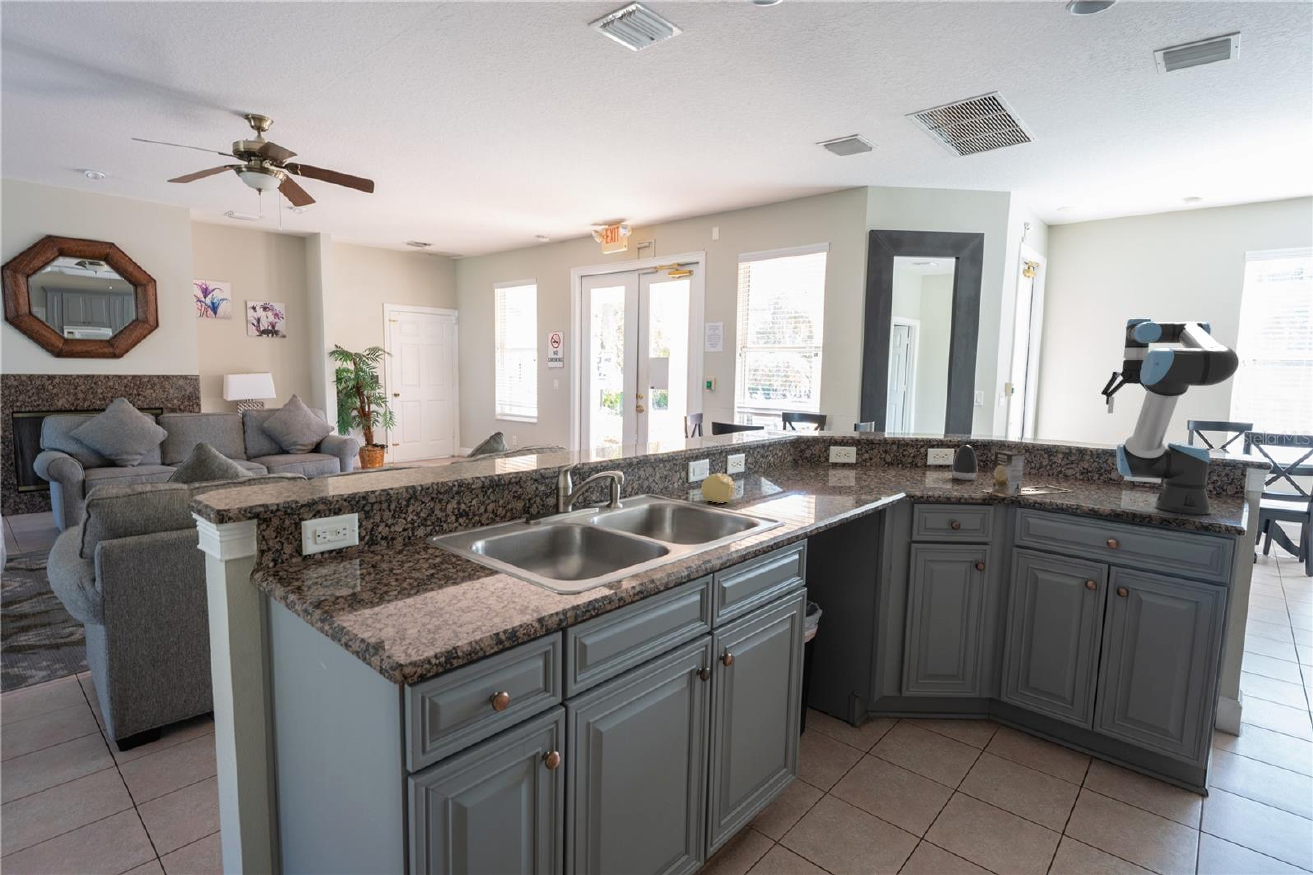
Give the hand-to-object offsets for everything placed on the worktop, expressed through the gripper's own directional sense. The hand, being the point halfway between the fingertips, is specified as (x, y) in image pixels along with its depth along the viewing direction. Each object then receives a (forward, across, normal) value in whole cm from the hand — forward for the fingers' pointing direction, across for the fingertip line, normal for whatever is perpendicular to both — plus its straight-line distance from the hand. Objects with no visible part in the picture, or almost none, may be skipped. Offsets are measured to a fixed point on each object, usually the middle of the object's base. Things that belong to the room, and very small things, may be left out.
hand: (1130, 414), depth 253 cm
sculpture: (+32, +73, +145) cm, 165 cm away
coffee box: (+32, +26, +37) cm, 55 cm away
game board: (+32, +23, +26) cm, 47 cm away
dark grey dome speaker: (+32, +53, +22) cm, 65 cm away
